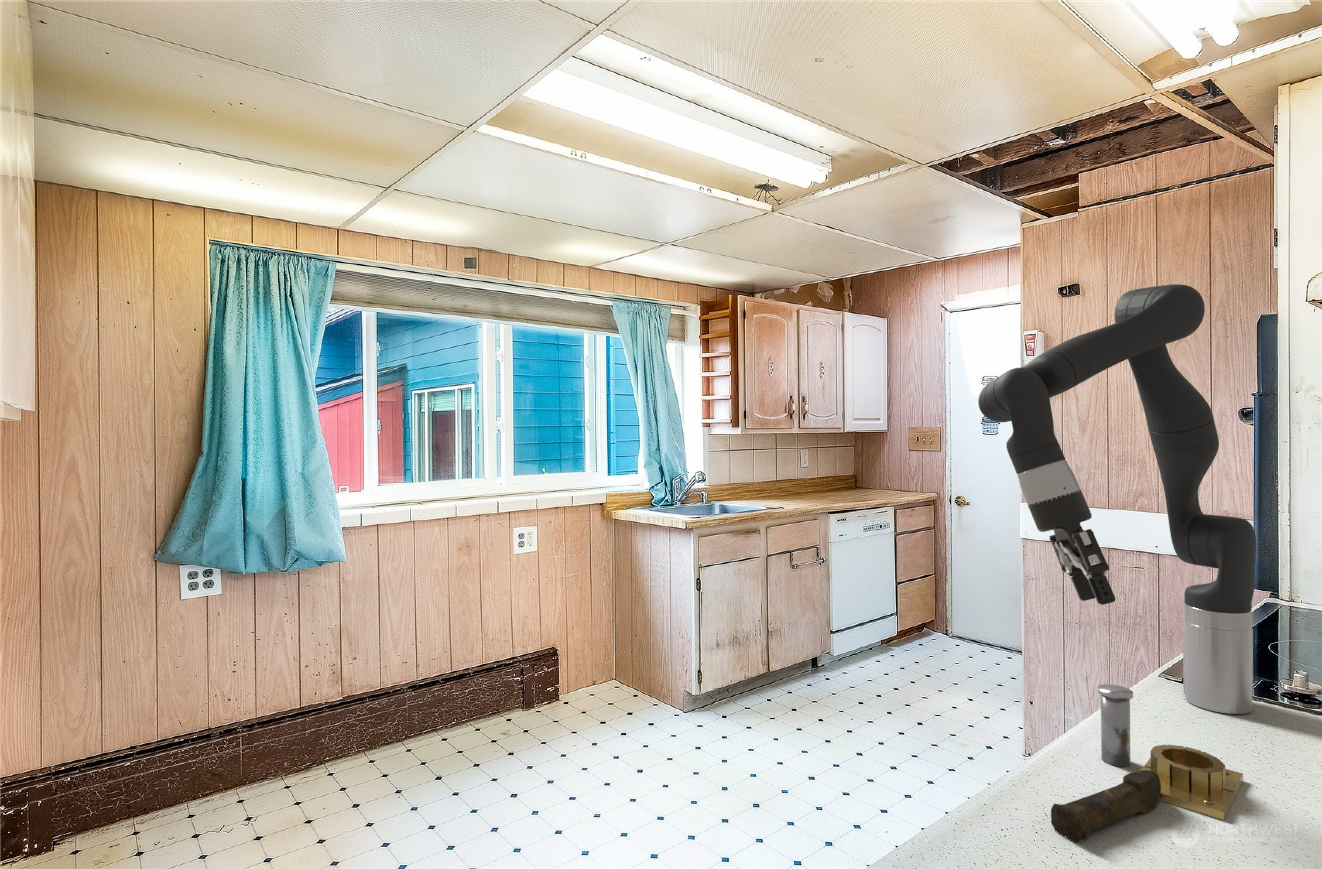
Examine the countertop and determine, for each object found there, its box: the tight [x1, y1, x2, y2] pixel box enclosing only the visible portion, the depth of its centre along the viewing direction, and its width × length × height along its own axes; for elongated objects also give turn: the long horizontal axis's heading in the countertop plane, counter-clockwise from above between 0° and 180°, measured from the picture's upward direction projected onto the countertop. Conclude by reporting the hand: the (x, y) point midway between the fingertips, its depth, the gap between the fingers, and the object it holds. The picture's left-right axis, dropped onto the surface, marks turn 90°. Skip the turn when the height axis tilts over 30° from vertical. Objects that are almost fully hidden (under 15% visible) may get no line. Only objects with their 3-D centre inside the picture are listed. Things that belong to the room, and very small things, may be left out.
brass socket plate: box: [1139, 744, 1244, 821], centre depth 96 cm, size 14×10×4 cm
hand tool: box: [1050, 769, 1161, 843], centre depth 88 cm, size 19×4×5 cm, turn 112°
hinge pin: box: [1097, 683, 1134, 768], centre depth 103 cm, size 4×4×11 cm
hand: (1097, 601), depth 102 cm, fingers open, 8 cm apart
